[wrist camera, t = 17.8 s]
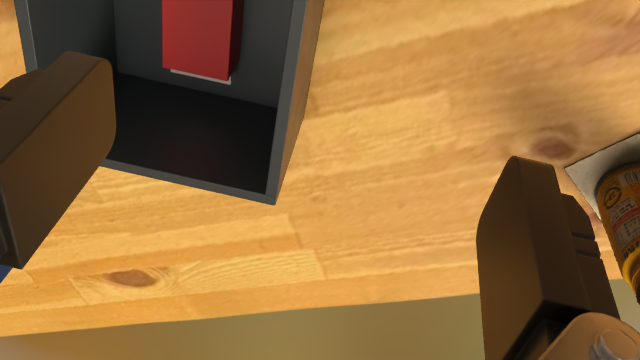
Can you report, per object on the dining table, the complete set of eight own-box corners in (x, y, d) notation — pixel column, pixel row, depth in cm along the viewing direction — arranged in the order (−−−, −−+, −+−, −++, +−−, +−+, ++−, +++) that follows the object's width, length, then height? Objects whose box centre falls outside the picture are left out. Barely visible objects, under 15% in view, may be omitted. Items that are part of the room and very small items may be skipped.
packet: (178, -88, 39) (160, -74, 36) (250, -72, 39) (237, -58, 36) (177, 60, 46) (162, 80, 43) (238, 73, 46) (226, 94, 43)
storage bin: (97, -162, 38) (-10, -129, 28) (343, -108, 38) (316, -57, 28) (113, 74, 49) (39, 153, 39) (303, 116, 48) (275, 206, 39)
